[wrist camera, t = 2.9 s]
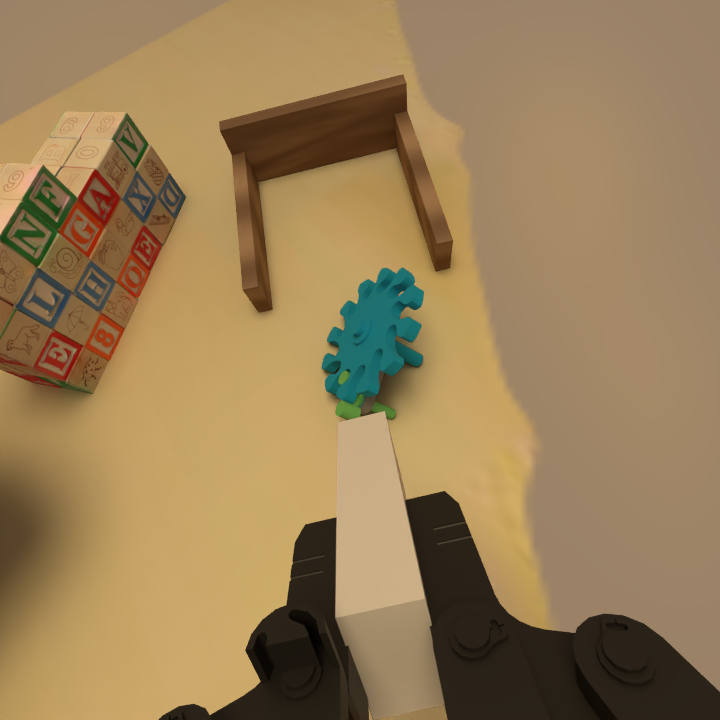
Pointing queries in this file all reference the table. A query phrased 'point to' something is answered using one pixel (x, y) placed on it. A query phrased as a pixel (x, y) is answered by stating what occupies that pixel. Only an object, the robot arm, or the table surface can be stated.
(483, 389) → the table surface
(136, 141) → the stack of blocks
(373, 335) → the gear
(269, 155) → the wooden u-shaped enclosure
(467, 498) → the table surface
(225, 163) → the table surface
